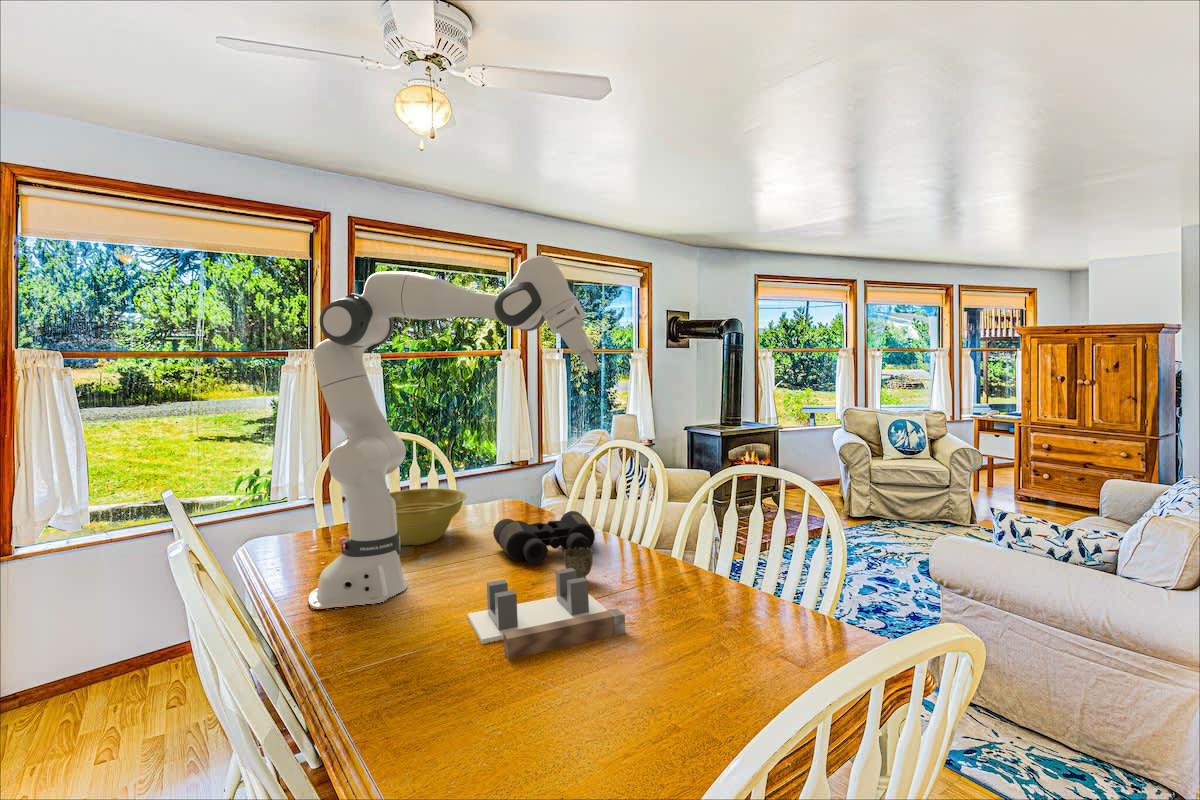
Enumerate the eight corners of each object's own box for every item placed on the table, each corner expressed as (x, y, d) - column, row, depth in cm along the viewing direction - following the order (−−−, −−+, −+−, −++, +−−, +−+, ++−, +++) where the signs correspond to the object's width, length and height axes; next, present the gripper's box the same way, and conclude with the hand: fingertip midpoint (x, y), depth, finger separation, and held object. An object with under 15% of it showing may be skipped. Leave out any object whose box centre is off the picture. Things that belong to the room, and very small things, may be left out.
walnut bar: (508, 660, 114) (507, 639, 114) (503, 652, 117) (503, 632, 117) (625, 633, 124) (624, 614, 124) (618, 626, 127) (617, 608, 127)
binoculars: (583, 536, 193) (583, 506, 192) (607, 560, 174) (607, 526, 173) (493, 548, 183) (492, 516, 182) (507, 575, 164) (507, 539, 163)
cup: (590, 587, 150) (589, 555, 149) (561, 586, 151) (560, 554, 151) (596, 577, 157) (595, 546, 156) (568, 576, 158) (567, 545, 158)
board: (482, 644, 121) (480, 604, 120) (467, 618, 134) (466, 582, 133) (610, 616, 132) (609, 580, 132) (585, 595, 145) (584, 562, 145)
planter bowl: (454, 554, 180) (452, 509, 179) (346, 556, 180) (343, 512, 179) (477, 525, 212) (476, 487, 211) (385, 527, 212) (383, 489, 211)
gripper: (560, 328, 153) (587, 376, 153) (548, 321, 133) (579, 377, 133) (582, 315, 153) (609, 363, 153) (573, 307, 132) (604, 362, 133)
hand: (595, 369), depth 143 cm, fingers open, 8 cm apart
